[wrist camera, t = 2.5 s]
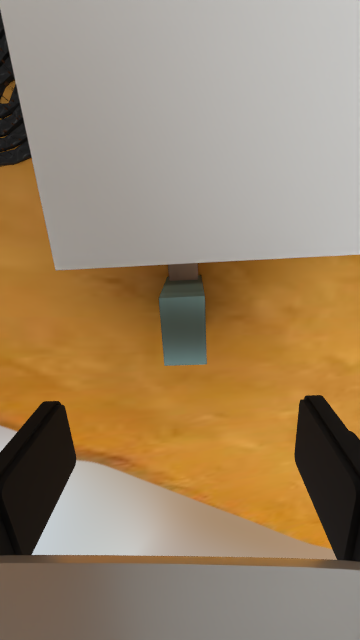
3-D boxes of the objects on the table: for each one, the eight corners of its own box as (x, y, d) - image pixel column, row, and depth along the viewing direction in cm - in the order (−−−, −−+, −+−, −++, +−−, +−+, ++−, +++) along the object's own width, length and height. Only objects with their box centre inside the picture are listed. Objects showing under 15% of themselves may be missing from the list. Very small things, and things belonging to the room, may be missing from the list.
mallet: (153, 86, 20) (134, 22, 13) (195, 83, 20) (196, 16, 13) (171, 328, 26) (164, 365, 20) (202, 327, 26) (206, 364, 20)
